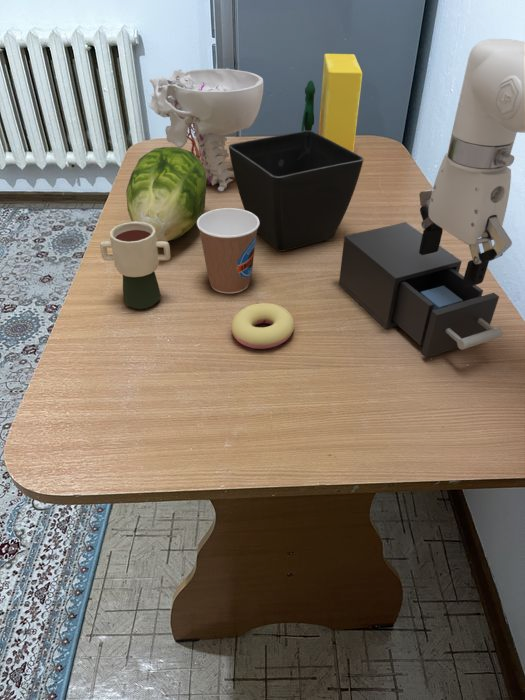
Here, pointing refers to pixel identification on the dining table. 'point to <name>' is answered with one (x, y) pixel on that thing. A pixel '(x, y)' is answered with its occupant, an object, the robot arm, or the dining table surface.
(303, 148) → the flower pot
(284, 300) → the dining table surface
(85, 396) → the dining table surface
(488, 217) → the robot arm
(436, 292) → the block
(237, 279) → the coffee cup
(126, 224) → the character mug
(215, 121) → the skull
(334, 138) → the yellow and green pieces
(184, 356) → the dining table surface
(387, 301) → the dark grey drawer cabinet
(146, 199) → the lettuce
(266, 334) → the donut
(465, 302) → the dark grey drawer
